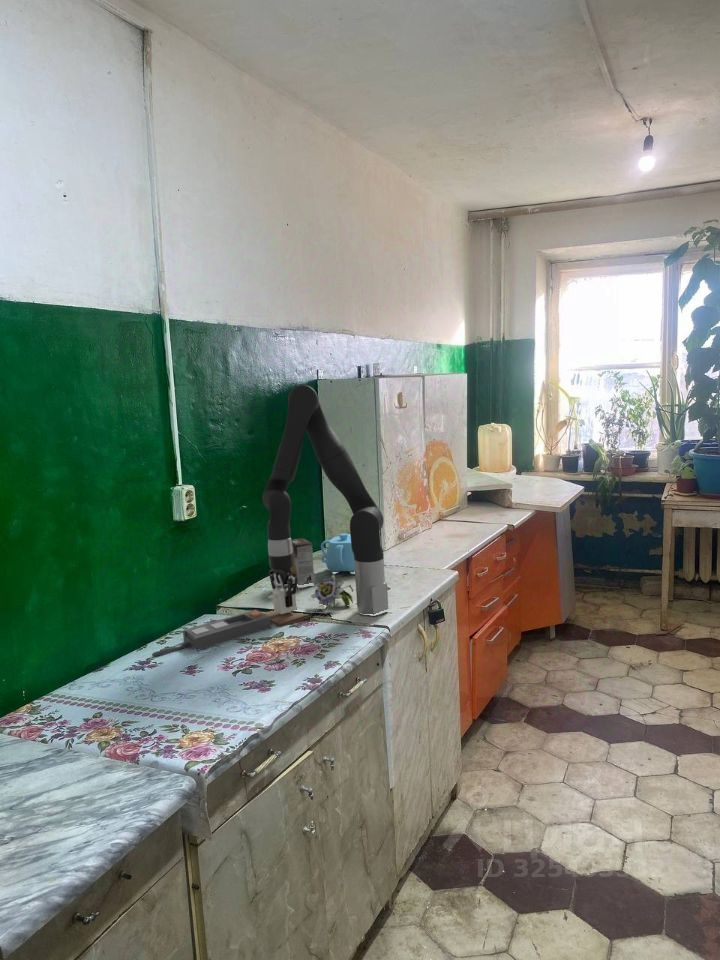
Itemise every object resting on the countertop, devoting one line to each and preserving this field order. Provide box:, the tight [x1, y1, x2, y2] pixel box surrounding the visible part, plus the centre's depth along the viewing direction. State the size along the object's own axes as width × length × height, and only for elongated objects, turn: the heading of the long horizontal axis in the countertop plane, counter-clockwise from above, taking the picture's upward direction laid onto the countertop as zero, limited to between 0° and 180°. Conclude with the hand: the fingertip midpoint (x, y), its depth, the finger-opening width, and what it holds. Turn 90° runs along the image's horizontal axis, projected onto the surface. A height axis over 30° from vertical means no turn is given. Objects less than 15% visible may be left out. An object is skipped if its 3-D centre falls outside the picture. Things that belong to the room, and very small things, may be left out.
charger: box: [267, 587, 298, 614], centre depth 214 cm, size 4×8×7 cm, turn 127°
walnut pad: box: [263, 610, 310, 628], centre depth 215 cm, size 12×12×1 cm
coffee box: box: [290, 537, 315, 585], centre depth 247 cm, size 9×6×16 cm
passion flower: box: [310, 574, 354, 608], centre depth 223 cm, size 11×11×12 cm
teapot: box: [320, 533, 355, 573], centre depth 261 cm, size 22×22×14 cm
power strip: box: [151, 609, 272, 657], centre depth 200 cm, size 9×35×4 cm, turn 127°
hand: (285, 604), depth 215 cm, fingers closed on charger, 4 cm apart
